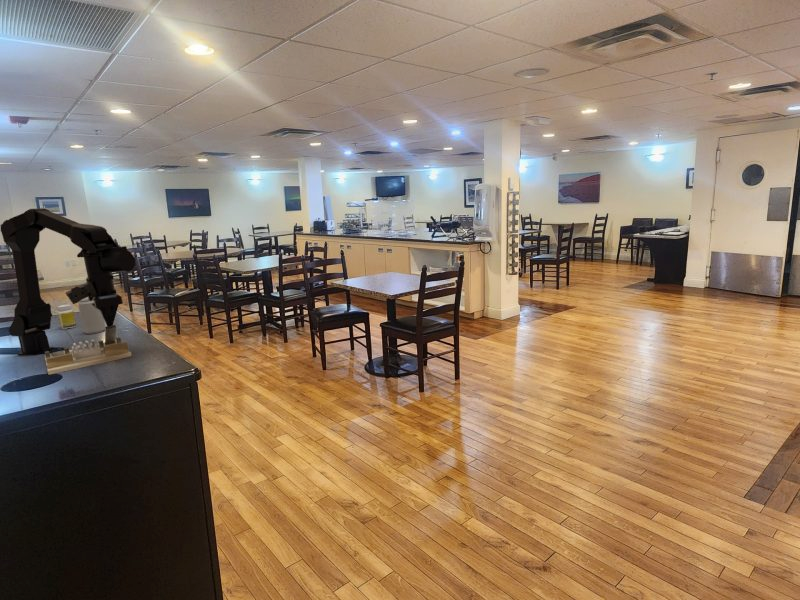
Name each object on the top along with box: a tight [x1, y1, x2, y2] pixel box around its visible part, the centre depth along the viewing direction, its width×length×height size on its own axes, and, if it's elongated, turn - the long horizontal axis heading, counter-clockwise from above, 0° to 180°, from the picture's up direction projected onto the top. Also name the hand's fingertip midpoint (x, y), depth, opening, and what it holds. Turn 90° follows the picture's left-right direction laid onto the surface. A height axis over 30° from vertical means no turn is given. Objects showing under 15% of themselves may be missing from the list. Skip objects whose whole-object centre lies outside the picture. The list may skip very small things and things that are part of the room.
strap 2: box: [103, 324, 117, 345], centre depth 139 cm, size 12×3×1 cm
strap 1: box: [50, 350, 64, 357], centre depth 131 cm, size 12×3×1 cm, turn 38°
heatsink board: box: [43, 336, 132, 376], centre depth 135 cm, size 20×19×4 cm
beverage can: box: [77, 297, 106, 335], centre depth 165 cm, size 6×6×12 cm
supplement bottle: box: [57, 304, 77, 330], centre depth 175 cm, size 5×5×8 cm
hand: (110, 327), depth 135 cm, fingers closed
